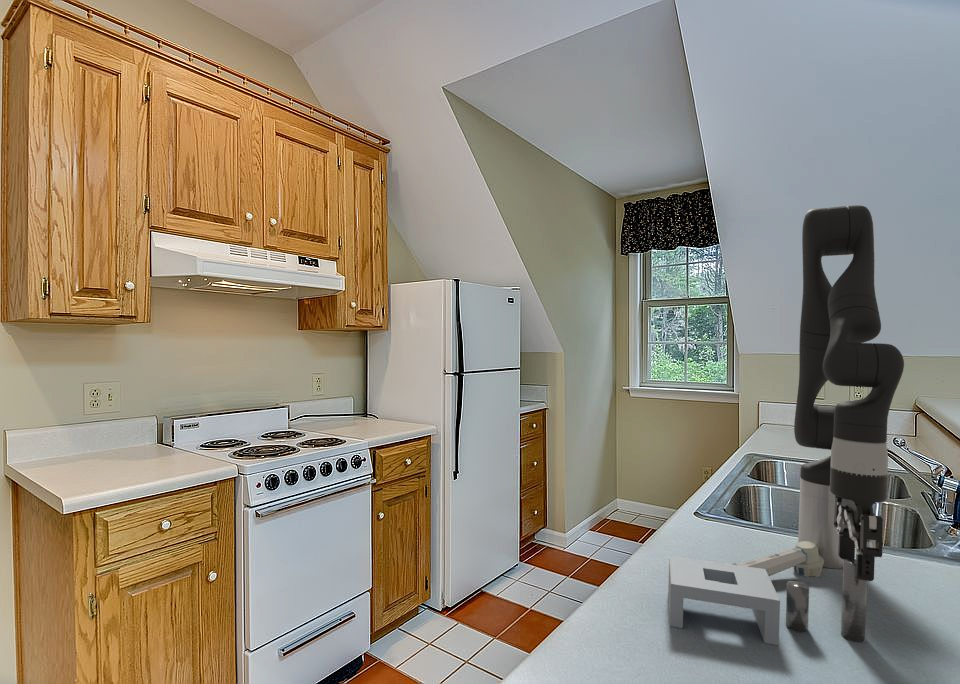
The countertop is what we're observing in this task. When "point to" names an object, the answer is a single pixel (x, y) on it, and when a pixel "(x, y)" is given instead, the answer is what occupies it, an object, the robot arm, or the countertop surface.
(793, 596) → the short pin
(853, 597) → the tall pin
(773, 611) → the bridge
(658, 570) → the countertop surface
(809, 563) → the beige toy mallet
